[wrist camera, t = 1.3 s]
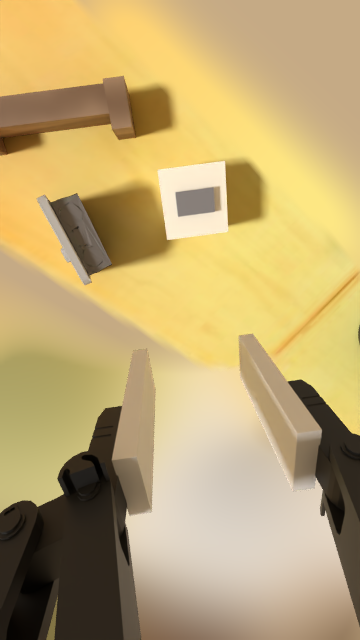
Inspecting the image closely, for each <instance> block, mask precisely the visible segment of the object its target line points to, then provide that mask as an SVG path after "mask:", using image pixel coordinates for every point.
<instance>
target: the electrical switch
mask: <svg viewBox="0 0 360 640" xmlns="http://www.w3.org/2000/svg"><path fill="white" fill-rule="evenodd" d="M37 201H38V203H39V205H40V207H41V209H42V211H43V213H44V214H45V216H46V218H47V220H48V222H49V223H50V225H51V227H52V229H53V231H54V232H55V234H56V236H57V238H58V240H59V241H60V243H61V245H62V247H63V248H62V249H61V252H62V254H63V256H64V258H65V260H66V261H67V262H71V263H72V265H73V267H74V268H75V270H76V272H77V274H78V276H79V277H80V279H81V281H82V282H83V283H84V285H87V284H89V283H92V281H91V280H90V279H91V278H90V275H92V274H94V273H97V272H99V271H100V270H102V269H104V268H105V267H108V266H110V265H112V263H111V261H110V259H109V257H108V255H107V253H106V251H105V249H104V247H103V245H102V243H101V241H100V239H99V237H98V235H97V233H96V231H95V229H94V227H93V225H92V223H91V220H90V218H89V216H88V214H87V212H86V210H85V208H84V206H83V204H82V202H81V200H80V198H79V196H78V194H74V195H72V196H69V197H65V198H61V199H59V200H56V201H54V202H50V201H49V200H48V199H47V197H46V196H45V195H43V196H41V197H39V198H37Z"/></svg>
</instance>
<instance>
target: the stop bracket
mask: <svg viewBox="0 0 360 640" xmlns="http://www.w3.org/2000/svg"><path fill="white" fill-rule="evenodd" d="M105 124H111V126H112V130H113V131H114V133H115V135H116V136H117V138H118V139H119V140H121V139H128V138H136V136H135V130H134V123H133V117H132V111H131V104H130V98H129V93H128V90H127V86H126V83H125V79H124V76H120V77H112V78H105V79H103V84H95V85H87V86H80V87H72V88H64V89H56V90H48V91H41V92H33V93H25V94H17V95H10V96H2V97H0V155H6V154H7V151H6V148H5V145H4V142H3V139H2V138H6V137H13V136H21V135H29V134H36V133H44V132H52V131H59V130H67V129H75V128H82V127H90V126H98V125H105Z"/></svg>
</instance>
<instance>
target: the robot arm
mask: <svg viewBox="0 0 360 640" xmlns="http://www.w3.org/2000/svg"><path fill="white" fill-rule="evenodd" d="M358 337H359V343H360V327H359V334H358ZM239 356H240V378H241V380H242V383H243V385H244V387H245V389H246V391H247V393H248V395H249V398H250V400H251V402H252V404H253V406H254V408H255V411H256V413H257V415H258V417H259V419H260V421H261V423H262V426H263V428H264V430H265V432H266V434H267V436H268V439H269V441H270V443H271V445H272V447H273V450H274V452H275V454H276V456H277V458H278V460H279V462H280V465H281V467H282V469H283V471H284V473H285V476H286V478H287V479H288V482H289V484H290V486H291V488H292V490H293V491H299V490H306V489H313V488H315V481H316V478H317V480H318V482H319V483H320V485H321V487H322V489H323V493H322V500H321V507H320V512H321V516H324V515H325V510H326V513H327V517H328V520H329V524H330V527H331V530H332V534H333V537H334V541H335V544H336V547H337V551H338V554H339V558H340V561H341V564H342V568H343V571H344V575H345V578H346V581H347V585H348V588H349V592H350V595H351V598H352V602H353V605H354V609H355V612H356V615H357V619H358V622H359V625H360V436H359V435H357V434H352V433H351V432H350V431H349V430H348V428H347V427H346V426H345V425H344V424H343V423H342V421H341V420H340V419H339V418H338V417H337V415H336V414H335V413H334V412H333V411H332V409H331V408H330V407H329V406H328V405H327V404H326V402H325V401H324V400H323V399H322V398H321V397H320V395H319V394H318V393H317V392H316V390H315V389H314V388H313V387H312V386H311V385H309V384H307V383H306V382H304V381H303V380H295V381H288V382H287V381H286V379H285V378H284V376H283V375H282V374H281V372H280V371H279V369H278V368H277V367H276V365H275V364H274V362H273V361H272V360H271V358H270V357H269V356H268V354H267V353H266V351H265V350H264V349H263V347H262V346H261V344H260V343H259V342H258V340H257V339H256V337H255V336H254V335H253V334H248V335H241V336H239ZM154 417H155V385H154V380H153V376H152V370H151V365H150V360H149V355H148V350H147V349H141V350H134V351H133V354H132V359H131V364H130V369H129V374H128V379H127V384H126V389H125V394H124V400H123V405H122V406H118V407H112V408H105V410H104V411H103V412H102V413H101V415H100V416H99V417H98V420H97V423H96V426H95V430H94V433H93V436H92V437H93V438H92V440H91V443H90V447H89V450H88V451H87V452H82V453H80V454H78V455H76V456H73V457H72V458H71V459H70V460H68V461H67V462H66V463H65V464H64V466H63V467H62V469H61V470H60V473H59V476H58V481H59V483H60V486H61V487H62V490H63V492H64V494H63V495H62V496H60V497H58V498H56V499H54V500H52V501H49V502H47V503H45V504H43V505H41V506H39V507H37V506H36V505H35V504H34V503H33V502H31V501H20V502H17V503H14V504H12V505H11V506H9V507H8V508H6V509H4V510H3V511H2V512H1V513H0V640H46V638H47V634H48V630H49V626H50V623H51V619H52V615H53V611H54V607H55V603H56V600H57V596H58V602H57V615H56V627H55V640H141V633H140V625H139V618H138V610H137V601H136V594H135V586H134V578H133V569H132V561H131V553H130V545H129V537H128V530H127V527H126V524H125V517H126V509H128V512H129V515H137V514H144V513H151V512H152V483H153V451H154V449H153V448H154Z"/></svg>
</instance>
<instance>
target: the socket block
mask: <svg viewBox="0 0 360 640" xmlns="http://www.w3.org/2000/svg"><path fill="white" fill-rule="evenodd" d="M158 177H159V184H160V192H161V199H162V206H163V214H164V221H165V228H166V235H167V240H171V239H178V238H186V237H193V236H200V235H208V234H215V233H223V232H228V216H227V194H226V172H225V161H221V162H213V163H205V164H198V165H190V166H183V167H175V168H168V169H160V170H158Z"/></svg>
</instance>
